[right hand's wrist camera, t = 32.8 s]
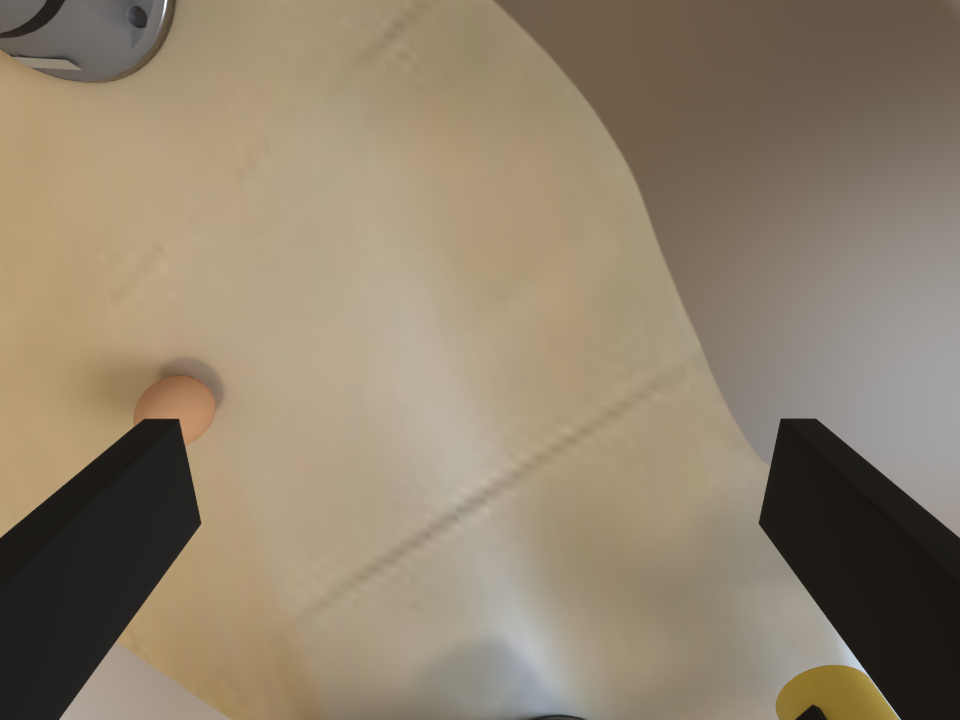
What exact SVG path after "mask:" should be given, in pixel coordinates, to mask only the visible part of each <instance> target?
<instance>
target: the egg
mask: <svg viewBox="0 0 960 720" xmlns="http://www.w3.org/2000/svg"><path fill="white" fill-rule="evenodd" d="M215 410H216V406H215V399H214V397H213V395H212V392H211V391H210V390H209V388H208V387H207V386H206V385H205V384H204V383H202V382H200V381H199V380H197V379H194V378H191V377H187V376H172V377H168V378H165V379H162V380H160V381H158V382H156V383H155V384H153V385H151V386H150V387H149V388H148V389H147V390H146V391H145V392H144V393H143V394H142V396H141V397H140V399H139V401H138V403H137V405H136V408H135V412H134V427H135V426H136V425H137V424H138V423H139V422H141V421H142V420H143V419H179V420H180V425H181V430H182V434H183V439H184V444H185V445H187V444H189V443H191V442H193V441H195V440H196V439H198V438H199V437H200V436H202V435H203V434H204V433H205V431H206V430H207V429H208V428H209V427H210V425H211V424H212V421H213V419H214V416H215Z"/></svg>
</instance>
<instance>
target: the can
mask: <svg viewBox="0 0 960 720" xmlns="http://www.w3.org/2000/svg"><path fill="white" fill-rule="evenodd" d="M812 704H813V705H815V706H817V707H819V708H821V710H822V712H823V714H824V715H825V717H826V719H827V720H899V719H898V717H897V716H896V714H895V713H894V712H893V710H892V709H891V707H890V706H889V705H888V703H887V702H886V700H885V699H884V698H883V696H882V695H881V694H880V692H879V691H878V689H877V688H876V687H875V685H874V684H873V682H872V681H871V680H870V678H869V677H868V676H867V675H866V674H864V673H863V672H861V671H860V670H857V669H855V668H852V667H849V666H843V665H827V666H821V667H817V668H813V669H810V670H808V671H805V672H803V673H801V674H799V675H798V676H796V677H794V678H793V679H792V680H790V681H789V682H788V683H787V684H786V685H785V686H784V687H783V689H782V690H781V692H780V693H779V695H778V698H777V701H776V713H777V716H778V718H779V720H795V719H796V718H797V717H798V716H800V715H801V714H802V713H803V712H804V711H805V710H807V709H808V708H809V707H810V706H811V705H812Z"/></svg>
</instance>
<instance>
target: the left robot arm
mask: <svg viewBox="0 0 960 720" xmlns="http://www.w3.org/2000/svg"><path fill="white" fill-rule="evenodd" d="M537 720H581V719H577V718H572V717H547V718H541V719H537ZM795 720H827V719H826V717H825V715H824V714H823V712H822V710H821V708H819V707H817V706H815V705H813V704H812V705H811V706H810V707H809V708H808V709H807V710H805V711H804V712H803V713H802V714H801V715H800V716H798V717H797V718H796V719H795Z"/></svg>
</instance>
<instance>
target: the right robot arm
mask: <svg viewBox="0 0 960 720" xmlns="http://www.w3.org/2000/svg"><path fill="white" fill-rule="evenodd" d="M175 3H176V0H0V49H1V50H3V51H4V52H5V53H7V54H8V55H10V56H11V57H12V58H14V59H16V60H17V61H19V62H21V63H22V64H24V65H26V66H28V67H31V68H33V69H35V70H38V71H40V72H43V73H45V74H48V75H51V76H53V77H57V78H61V79H65V80H72V81H79V82H86V83H104V82H110V81H115V80H119V79H122V78H125V77H127V76H129V75H131V74H133V73H135V72H136V71H138V70H140V69H141V68H142V67H143V66H145V65H146V64H147V63H148V62H149V61H150V60H151V59H152V58H153V57H154V56H155V55H156V53H157V52H158V51H159V49H160V48H161V46H162V44H163V43H164V41H165V39H166V37H167V35H168V32H169V29H170V27H171V24H172V20H173V16H174V11H175ZM200 525H201V520H200V515H199V510H198V505H197V501H196V496H195V491H194V486H193V482H192V477H191V472H190V467H189V463H188V458H187V453H186V448H185V444H184V439H183V434H182V430H181V425H180V420H179V419H143V420H142V421H141V422H139V423H138V424H137V425H136V426H135V427H133V428H132V429H131V430H130V431H129V432H127V433H126V434H125V435H124V436H123V437H121V438H120V439H119V440H118V441H117V442H115V443H114V444H113V445H112V446H111V447H109V448H108V449H107V450H106V451H105V452H103V453H102V454H101V455H100V456H98V457H97V458H96V459H95V460H94V461H92V462H91V463H90V464H89V465H88V466H86V467H85V468H84V469H83V470H82V471H80V472H79V473H78V474H77V475H76V476H74V477H73V478H72V479H71V480H70V481H68V482H67V483H66V484H65V485H64V486H62V487H61V488H60V489H59V490H58V491H56V492H55V493H54V494H53V495H52V496H50V497H49V498H48V499H47V500H45V501H44V502H43V503H42V504H41V505H39V506H38V507H37V508H36V509H35V510H33V511H32V512H31V513H30V514H29V515H27V516H26V517H25V518H24V519H23V520H21V521H20V522H19V523H18V524H17V525H15V526H14V527H13V528H12V529H11V530H9V531H8V532H7V533H6V534H5V535H3V536H2V537H1V538H0V720H59V719H60V718H61V716H62V715H63V713H64V712H65V711H66V709H67V708H68V706H69V705H70V704H71V702H72V701H73V700H74V698H75V697H76V695H77V694H78V693H79V691H80V690H81V689H82V687H83V686H84V684H85V683H86V682H87V680H88V679H89V678H90V676H91V675H92V673H93V672H94V671H95V669H96V668H97V667H98V665H99V664H100V662H101V661H102V660H103V658H104V657H105V656H106V654H107V653H108V651H109V650H110V649H111V647H112V646H113V644H114V643H115V642H116V640H117V639H118V638H119V636H120V635H121V634H122V632H123V631H124V629H125V628H126V627H127V625H128V624H129V622H130V621H131V620H132V618H133V617H134V616H135V614H136V613H137V611H138V610H139V609H140V607H141V606H142V605H143V603H144V602H145V600H146V599H147V598H148V596H149V595H150V594H151V592H152V591H153V589H154V588H155V587H156V585H157V584H158V583H159V581H160V580H161V578H162V577H163V576H164V574H165V573H166V572H167V570H168V569H169V567H170V566H171V565H172V563H173V562H174V561H175V559H176V558H177V556H178V555H179V554H180V552H181V551H182V550H183V548H184V547H185V545H186V544H187V543H188V541H189V540H190V538H191V537H192V536H193V534H194V533H195V532H196V530H197V529H198V527H199V526H200ZM759 525H760V526H761V527H762V529H763V530H764V532H765V533H766V534H767V536H768V537H769V538H770V540H771V541H772V543H773V544H774V545H775V547H776V548H777V550H778V551H779V552H780V554H781V555H782V556H783V558H784V559H785V561H786V562H787V563H788V565H789V566H790V567H791V569H792V570H793V572H794V573H795V574H796V576H797V577H798V578H799V580H800V581H801V583H802V584H803V585H804V587H805V588H806V589H807V591H808V592H809V594H810V595H811V596H812V598H813V599H814V600H815V602H816V603H817V605H818V606H819V607H820V609H821V610H822V611H823V613H824V614H825V616H826V617H827V618H828V620H829V621H830V622H831V624H832V625H833V627H834V628H835V629H836V631H837V632H838V634H839V635H840V636H841V638H842V639H843V640H844V642H845V643H846V645H847V646H848V647H849V649H850V650H851V651H852V653H853V654H854V656H855V657H856V658H857V660H858V661H859V662H860V664H861V665H862V667H863V668H864V669H865V671H866V672H867V673H868V675H869V676H870V678H871V679H872V680H873V682H874V683H875V684H876V686H877V687H878V689H879V690H880V691H881V693H882V694H883V695H884V697H885V698H886V700H887V701H888V702H889V704H890V705H891V707H892V708H893V709H894V711H895V712H896V713H897V715H898V716H899V718H900V719H901V720H960V538H959V537H958V536H957V535H955V534H954V533H953V532H952V531H951V530H949V529H948V528H947V527H946V526H945V525H943V524H942V523H941V522H940V521H939V520H937V519H936V518H935V517H934V516H933V515H931V514H930V513H929V512H928V511H927V510H925V509H924V508H923V507H922V506H921V505H919V504H918V503H917V502H916V501H915V500H913V499H912V498H911V497H910V496H908V495H907V494H906V493H905V492H904V491H902V490H901V489H900V488H899V487H898V486H896V485H895V484H894V483H893V482H892V481H890V480H889V479H888V478H887V477H886V476H884V475H883V474H882V473H881V472H880V471H878V470H877V469H876V468H875V467H874V466H872V465H871V464H870V463H869V462H867V461H866V460H865V459H864V458H863V457H862V456H860V455H859V454H858V453H857V452H855V451H854V450H853V449H852V448H851V447H849V446H848V445H847V444H846V443H845V442H843V441H842V440H841V439H840V438H839V437H837V436H836V435H835V434H834V433H833V432H831V431H830V430H829V429H828V428H827V427H825V426H824V425H823V424H822V423H821V422H819V421H818V420H817V419H781V420H780V425H779V429H778V434H777V439H776V444H775V448H774V453H773V458H772V463H771V467H770V472H769V477H768V482H767V486H766V491H765V496H764V501H763V505H762V510H761V515H760V520H759Z"/></svg>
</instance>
